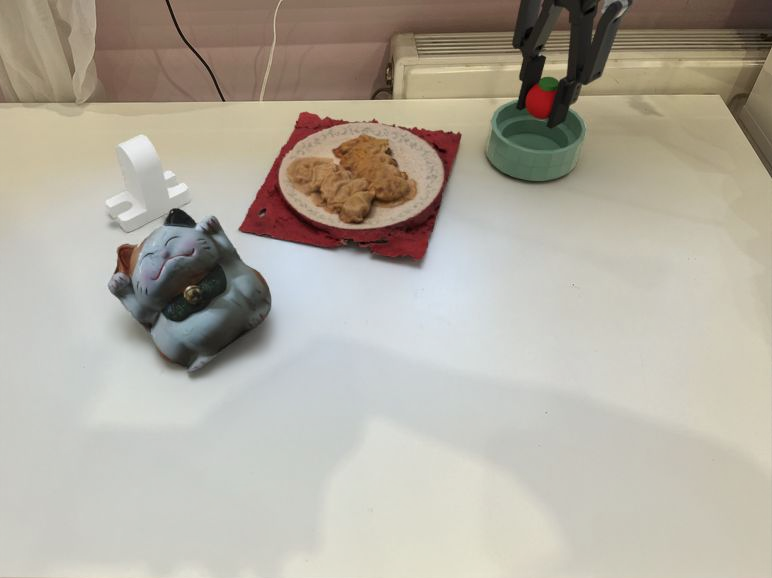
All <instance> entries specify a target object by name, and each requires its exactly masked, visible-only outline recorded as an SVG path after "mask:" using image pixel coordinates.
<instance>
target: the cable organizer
mask: <svg viewBox="0 0 772 578" xmlns="http://www.w3.org/2000/svg"><path fill="white" fill-rule="evenodd" d="M156 150H157V149H156V148H155V147H154V145H153V143H152V142H151V140H150V138H148V137H147V136H146V135H145V134H142V133H140V134H139V135H136V136H133V137H131V138H129V139H127V140H126V141H123V142H120V143H118V144H116V145H115V148H114V151H115V156H116V159H117V161H118V165H119V169H120V171H121V174H122V175H121V176H122V177H123V182H124V185H125V188H126V190H125V191H122V192H120V193H118V194H116V195H114V196H112V197H110V198H107V200H105V205H106V208H107V211H108V214H109V216H110V217H111V218H112V219H114V220H115V219H117V220H118V222H119V226H120V227H121V229H122V230H123V231H124V232H126V233H132V232H133V231H135V230H137V229H139V228H141V227H143V226H145V225H147V224H149V223H152V222H153V221H156V220H157V219H158V218H161V217H162V216H164V215H168V214H169V212H170V210H171V209H173V208H181V207H183V206H185V205H187V204H188V203H190V201H191V196H190V192H189V191H190V190H189V187H188V185H186V184H185V183H184V182H181V183H179V184H178V180H177V177H176V174H175V173H174V172H173V171H171V170H165V171H164V169H163V165H162V162H161V159H160V156H159V154H158V152H157V151H156Z"/></svg>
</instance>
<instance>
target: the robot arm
mask: <svg viewBox="0 0 772 578" xmlns="http://www.w3.org/2000/svg"><path fill="white" fill-rule="evenodd" d="M599 2H601V0H520V1H519V7H518V12H517V16H516V22H515V27H514V32H513V37H512V42H511V45H512V47H513V48H514V49H515V50H518V49H519V51H520V52H521V56H522V61H521V66H520V70H519V73H518V80H519V81H520V82H521V86H520V89H519V95H518V98H517V100H518V102H517V106H516V109H518V110H520V111H521V110H523V109H525V108H526V96H527V94H528V92H529V90H530V89H531V88H532V87H533V86H534V85H536V84H537V83H539V81H540V79H541V78H542V76H543V71H544V69H545V64H546V61H547V56H546V55H543V54H541V53H542V52H545V51H546V50H547V48H545V46H546V44H547V42H548V40H549V38H550V36H551V34H552V32H553V30H554V28H555V26H556V24H557V21H558V20H559V17H561V13H562V12H563V9H565V10H566V11H568V23H569V24H570V33H569V43H568V53H567V54H568V56H567V67H566V76H564V77H562V78H560V79H559V80H558V81H559V84H558V87H557V91H556V94H555V98H554V101H553V105H552V108H551V112H550V115H549V119H548V122H547V127H548V128H550V129H552V128H554V127H555V126H557V125H559V124H561V123H563V122H564V121H565V120H566V116H567V113H568V110H569V108H571V107H570V106H572V105H574V104H576V102H577V101H578V100H579V96H580V94H581V90H582V87H583V86H588V85H589V84H591V83H593V82H595V81H597V80H599V79H600V78H601V77H602V76H603V73H604V71H605V68H606V64H607V61H608V59H609V56H610V53H611V50H612V48H613V45H614V42H615V38H616V36H617V33H618V29H619V27H620V25H621V22H622V19H623V17H624V16H625V15H626V13H627V12H628V11H629V9H631V7H632V5H633V2H634V1H633V0H603V6H602V7H601V9H600V13H601V14H602V15H601V16H600V18H599V20H598V22H597V25H596V29H595V32H594V34H593V31H594V22H595V18H596V17H597V15H598V10H599ZM540 9H541V10H540Z"/></svg>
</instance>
